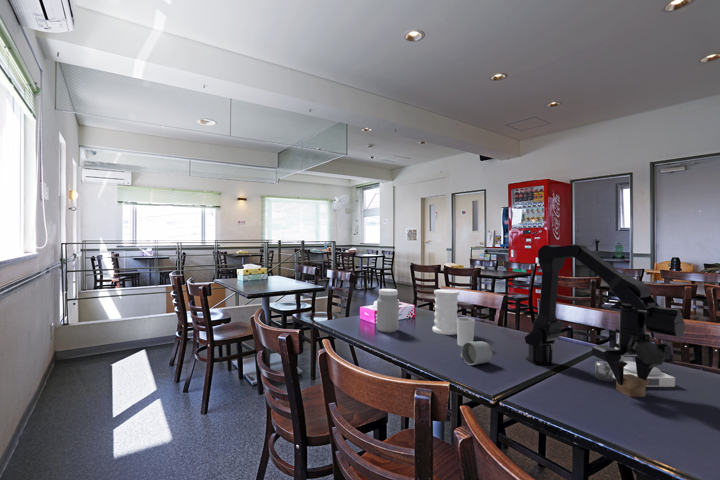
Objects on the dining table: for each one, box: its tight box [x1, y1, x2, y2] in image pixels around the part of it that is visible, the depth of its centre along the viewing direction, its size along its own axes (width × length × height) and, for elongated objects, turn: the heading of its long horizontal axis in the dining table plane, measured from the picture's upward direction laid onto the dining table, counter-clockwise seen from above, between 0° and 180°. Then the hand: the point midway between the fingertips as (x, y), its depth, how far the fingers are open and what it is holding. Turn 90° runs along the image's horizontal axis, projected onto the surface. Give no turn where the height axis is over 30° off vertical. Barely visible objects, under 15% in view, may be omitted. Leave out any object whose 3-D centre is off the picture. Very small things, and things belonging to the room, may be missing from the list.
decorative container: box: [431, 288, 460, 336], centre depth 158 cm, size 12×12×18 cm
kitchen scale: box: [613, 361, 676, 388], centre depth 107 cm, size 13×12×4 cm
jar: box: [376, 288, 400, 333], centre depth 158 cm, size 10×10×18 cm
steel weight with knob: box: [594, 360, 614, 382], centre depth 107 cm, size 4×4×5 cm
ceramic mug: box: [460, 340, 494, 366], centre depth 119 cm, size 10×8×7 cm
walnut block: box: [615, 374, 647, 398], centre depth 97 cm, size 4×4×4 cm
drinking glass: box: [456, 316, 476, 347], centre depth 138 cm, size 7×7×10 cm
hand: (630, 384), depth 97 cm, fingers open, 6 cm apart
